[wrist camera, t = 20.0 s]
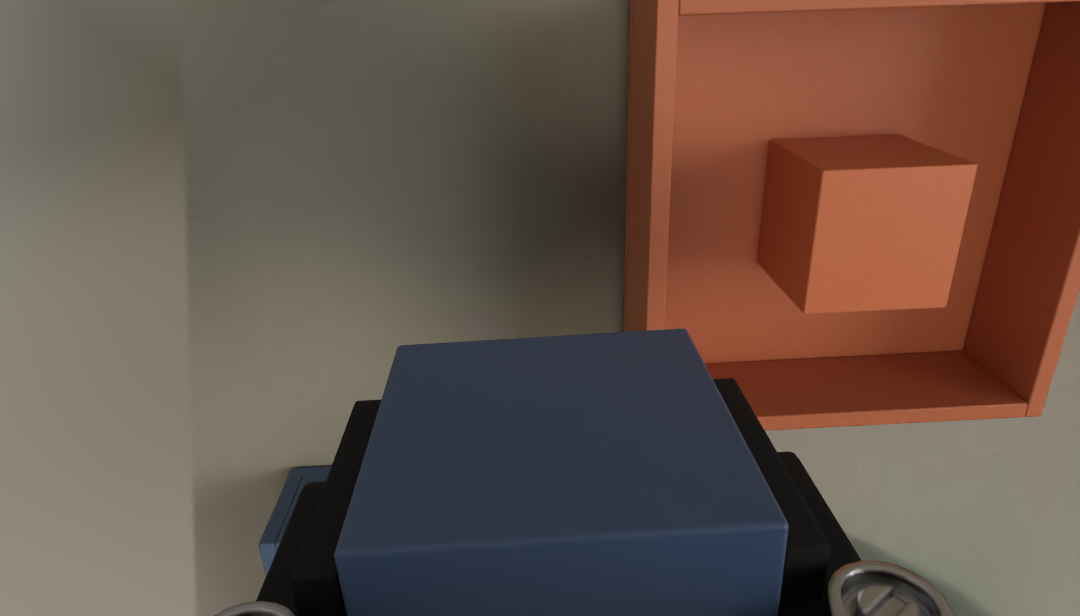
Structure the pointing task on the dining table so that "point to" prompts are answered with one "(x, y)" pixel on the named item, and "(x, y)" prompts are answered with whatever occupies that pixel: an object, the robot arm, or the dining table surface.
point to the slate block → (559, 486)
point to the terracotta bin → (857, 110)
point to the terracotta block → (863, 222)
